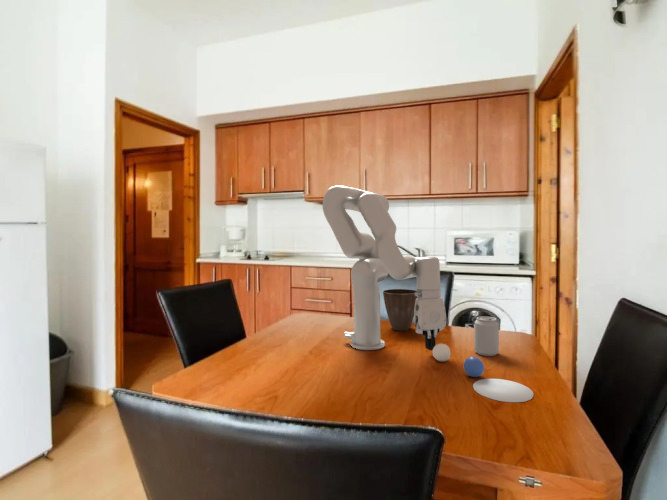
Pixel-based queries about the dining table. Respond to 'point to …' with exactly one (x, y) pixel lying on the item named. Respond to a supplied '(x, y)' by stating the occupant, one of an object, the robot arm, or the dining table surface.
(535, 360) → the dining table surface
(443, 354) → the cue ball
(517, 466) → the dining table surface
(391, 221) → the robot arm
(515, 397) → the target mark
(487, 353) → the can
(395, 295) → the plant pot
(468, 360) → the object ball
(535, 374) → the dining table surface
